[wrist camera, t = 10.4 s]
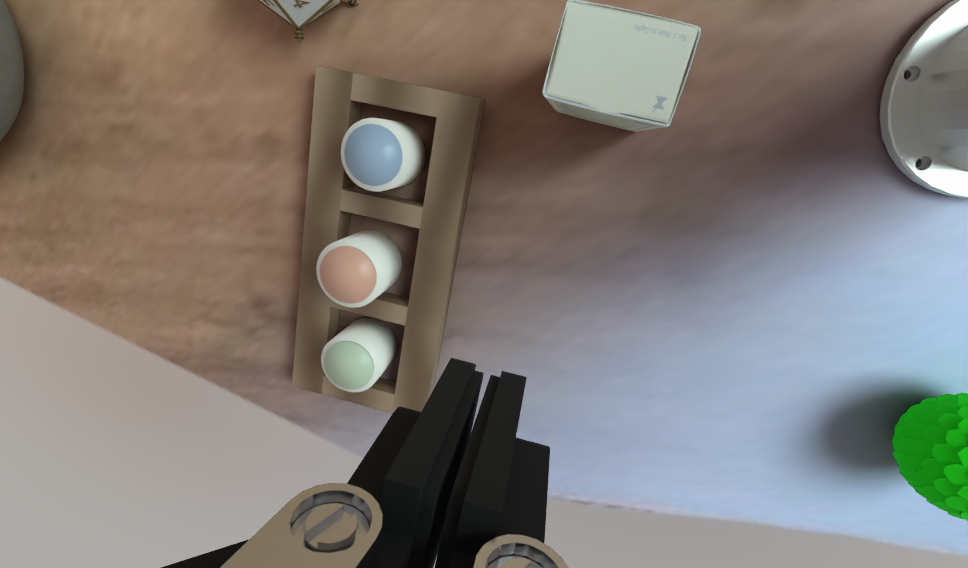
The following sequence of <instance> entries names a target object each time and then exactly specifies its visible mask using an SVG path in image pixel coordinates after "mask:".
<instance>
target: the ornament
mask: <svg viewBox="0 0 968 568" xmlns="http://www.w3.org/2000/svg"><path fill="white" fill-rule="evenodd" d="M892 445H893V448H894V450H895V451H893V457H894V458H895V460H896V462H897V463H898V466H899V469H900V473H901V475H902V476H903V477H904V478H905V479H906V480H907V481H908V483H909V484H910V485H911V486H912V487H913V488H914V489H915V491H916V492H917V493H918V494H920V495H922V496H923V497H925V498H926V499H927V501H928V502H929V503H931V504H933V505H935V506H937V507H938V508H940V509H942V510H944V511H947V512H948V514H950V515H952V516H955V517H958V518H961V519H966V520H968V394H966V393H960V394H956V395H951V394H945V395H939V397H931V398H926V399H924V400H922V401H921V403H920V404H917V405H914V406H911V407H910V408H909V409H908V410H907V412H906V413H905V414H903V415H902V416H901V417H900V419H899V422H897V424H896V425H895V427H894V436H893V439H892Z"/></svg>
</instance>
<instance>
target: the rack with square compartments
mask: <svg viewBox="0 0 968 568" xmlns="http://www.w3.org/2000/svg"><path fill="white" fill-rule="evenodd" d="M362 103H367V104H372V105H377V106H382V107H387V108H392V109H397V110H402V111H407V112H412V113H417V114H422V115H427V116H432V117H437V119H436V126H435V132H434V139H433V145H432V152H431V158H430V165H429V172H428V178H427V185H426V191H425V198H424V203H422V202H417V201H413V200H408V199H404V198H399V197H395V196H390V195H386V194H381V193H377V192H372V191H368V190H363V189H359V188H354V187H353V185H354V182H353V181H352V180H351V179H350V177H349V176H348V175H347V173H346V171H345V169H344V167H343V164H342V159H341V145H342V141H343V138H344V136H345V134H346V132H347V131H348V129H349V128H350V127H351V126H352V125H353V124H355V123H356V122H358V121H360V118H361V109H362ZM484 105H485V100H484V99H482V98H479V97H474V96H469V95H464V94H459V93H454V92H449V91H443V90H438V89H433V88H428V87H423V86H418V85H413V84H408V83H402V82H397V81H392V80H387V79H382V78H377V77H372V76H366V75H361V74H356V73H351V72H346V71H341V70H336V69H331V68H325V67H320V66H316V72H315V85H314V99H313V112H312V125H311V139H310V152H309V165H308V178H307V192H306V205H305V218H304V232H303V245H302V258H301V271H300V285H299V298H298V311H297V325H296V338H295V351H294V364H293V378H292V386H295V387H299V388H302V389H306V390H310V391H313V392H317V393H321V394H324V395H328V396H332V397H335V398H339V399H343V400H346V401H350V402H354V403H357V404H361V405H365V406H368V407H372V408H376V409H379V410H383V411H387V412H390V413H394V411H395V410H396V409H397V408H398V407H400V406H401V407H404V408H408V409H412V410H416V411H419V412H422V410H423V408H424V406H425V404H426V403H427V401H428V399H429V397H430V395H431V393H432V392H433V388H434V382H435V377H436V371H437V366H438V360H439V355H440V349H441V343H442V338H443V332H444V327H445V321H446V316H447V310H448V305H449V299H450V294H451V288H452V282H453V277H454V271H455V266H456V260H457V255H458V249H459V244H460V238H461V232H462V227H463V221H464V216H465V210H466V205H467V199H468V194H469V188H470V183H471V177H472V171H473V166H474V160H475V155H476V149H477V144H478V138H479V133H480V127H481V121H482V116H483V110H484ZM350 213H354V214H358V215H362V216H367V217H371V218H375V219H380V220H384V221H389V222H393V223H397V224H402V225H406V226H410V227H415V228H419V229H420V231H419V237H418V244H417V250H416V257H415V264H414V270H413V277H412V283H411V290H410V297H409V298H407V297H403V296H399V295H395V294H391V293H387V292H383V293H382V294H380V295H379V296H378V297H377V298H375V299H374V300H373V301H372V302H370V303H369V304H367V305H365V306H362V307H356V308H351V307H345V306H342V305H340V304H337V303H336V302H334V301H333V300H331V299H330V298H329V297H328V296H327V295H326V294H325V293H324V291H323V290H322V288H321V286H320V284H319V281H318V278H317V272H316V267H317V261H318V258H319V256H320V254H321V252H322V251H323V250H324V249H325V248H326V247H327V246H328V245H329V244H331V243H333V242H336V241H338V240H340V239H343V238H345V237H348V232H349V223H350ZM340 309H341V310H345V311H349V312H353V313H357V314H361V315H365V316H369V317H373V318H377V319H381V320H385V321H389V322H393V323H397V324H401V325H405V329H404V336H403V343H402V349H401V356H400V362H399V369H398V375H397V382H395V381H391V380H388V379H384V378H380V377H379V378H378V380H377V381H376V382H375V383H374V384H373V385H372V386H371V387H370V388H369V389H367V390H365V391H362V392H348V391H344V390H342V389H340V388H338V387H336V386H335V385H334V384H332V383H331V382H330V380H329V379H328V378H327V377H326V375H325V373H324V371H323V369H322V365H321V355H322V351H323V349H324V347H325V345H326V344H327V343H328V342H329V341H330V340H331V339H333V338H334V337H335V336H336V335H338V327H339V318H340Z"/></svg>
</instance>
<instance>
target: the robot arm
mask: <svg viewBox="0 0 968 568" xmlns="http://www.w3.org/2000/svg"><path fill="white" fill-rule="evenodd" d="M904 72H905V73H906V78H904ZM880 125H881V132H882V138H883V141H884V143H885V146H886V149H887V151H888V154H889V156H890V157H891V158H892V160H893V161H894V163H895V164H896V165H897V167H898V168H899V170H901V171H902V172H903V173H904V174H905V175H906V176H907V177H909V178H910V179H911V180H912V181H913V182H915V183H917V184H919V185H921V186H923V187H925V188H926V189H928V190H931V191H934V192H938V193H941V194H944V195H948V196H956V197H962V198H968V0H953V1H951V2H949V3H948V4H946V5H945V6H944V7H943V8H941V9H940V10H939V11H938V12H936V13H935V14H934V15H933V16H931V17H930V18H929V19H928V20H926V22H925V23H924V24H923V25H922V26H921V27H920V28H919V29H918V30H917V31H916V32H915V33H914V34H913V35H912V37H911V38H910V39H909V40H908V42H907V43H906V45H905V46H904V48H903V49H902V50H901V52H900V53H899V55H898V56H897V58H896V60H895V62H894V64H893V66H892V68H891V70H890V72H889V75H888V77H887V79H886V83H885V86H884V90H883V94H882V97H881V106H880ZM916 161H918V162H917V165H916ZM915 165H916V166H915ZM475 367H476V364H473V363H469V362H465V361H461V360H458V359H454V358H451V359H450V361H449V363H448V365H447V366H446V368H445V370H444V372H443V374H442V375H441V377H440V379H439V381H438V383H437V384H436V386H435V388H434V390H433V392H432V393H431V395H430V397H429V399H428V401H427V403H426V404H425V406H424V408H423V410H422V412H419V411H416V410H412V409H408V408H404V407H401V406H400V407H398V408H397V409H396V410H395V411H394V413H393V414H392V416H391V417H390V419H389V420H388V422H387V423H386V425H385V427H384V428H383V430H382V431H381V433H380V434H379V436H378V437H377V439H376V440H375V442H374V443H373V445H372V446H371V448H370V449H369V451H368V452H367V454H366V456H365V457H364V459H363V460H362V462H361V463H360V465H359V466H358V468H357V469H356V471H355V472H354V474H353V475H352V477H351V478H350V480H349V482H348V483H347V484H343V483H342V484H341V483H329V484H323V485H317V486H314V487H312V488H310V489H307V490H305V491H302V492H301V493H300V494H298V495H297V496H296V497H294V498H293V499H291V500H290V501H289V502H288V503H287V504H286V505H285V506H284V507H283V508H282V509H281V510H280V511H279V512H278V513H277V514H276V515H274V517H272V519H270V520H269V521H268V522H267V523H266V524H265V525H264V526H263V527H262V528H261V529H260V530H259V531H258V532H257V533H256V534H255V535H254V536H253V537H252V538H251V539H249V540H246V541H243V542H240V543H237V544H233V545H230V546H227V547H224V548H221V549H218V550H215V551H212V552H209V553H205V554H202V555H199V556H196V557H193V558H190V559H187V560H184V561H180V562H177V563H174V564H171V565H168V566H165V567H162V568H433V566H434V563H435V560H436V557H437V560H436V564H435V568H568V566H567V565H566V564H565V562H564V560H563V559H562V558H561V557H560V556H559V555H558V554H557V553H556V552H555V551H554V550H553V549H552V548H551V547H549V546H547V545H546V544H544V537H545V521H546V506H547V489H548V473H549V456H550V448H549V446H545V445H541V444H538V443H534V442H530V441H526V440H523V439H519V438H516V432H517V427H518V421H519V416H520V410H521V405H522V399H523V394H524V388H525V383H526V377H524V376H520V375H516V374H512V373H508V372H504V371H502V373H501V377H497V376H493V375H491V376H490V379H489V382H488V385H487V388H486V391H485V394H484V397H483V400H482V403H481V406H480V409H479V412H478V415H477V418H476V421H475V424H474V426H473V421H474V416H475V412H476V407H477V402H478V398H479V393H480V388H481V384H482V379H483V373H482V372H478V371H475ZM472 426H473V429H472ZM471 430H472V432H471ZM437 554H438V555H437Z"/></svg>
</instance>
